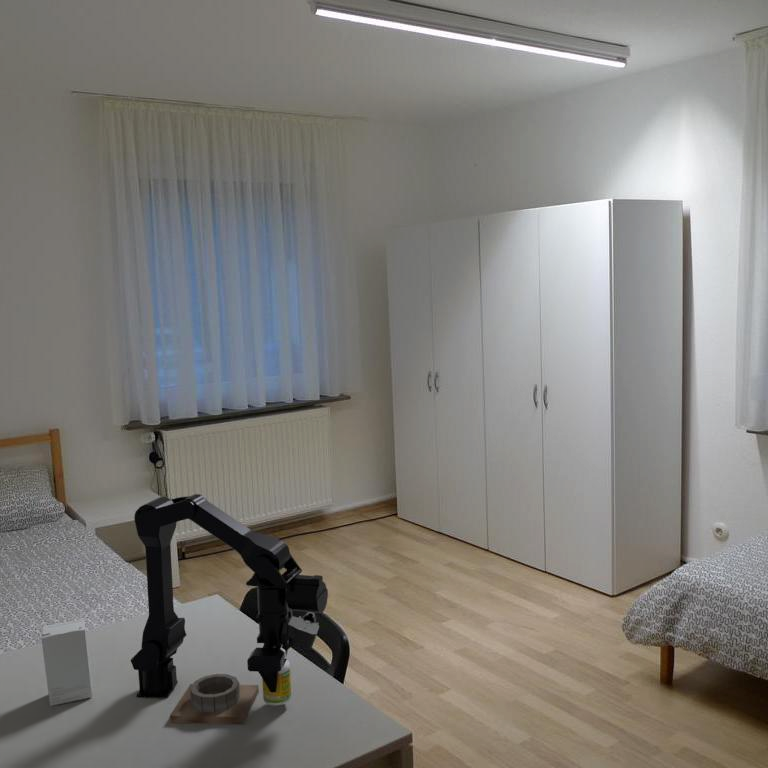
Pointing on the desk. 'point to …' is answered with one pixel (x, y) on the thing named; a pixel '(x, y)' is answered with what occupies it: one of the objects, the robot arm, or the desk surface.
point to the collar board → (217, 716)
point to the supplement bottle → (279, 687)
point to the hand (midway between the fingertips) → (276, 684)
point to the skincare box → (67, 662)
